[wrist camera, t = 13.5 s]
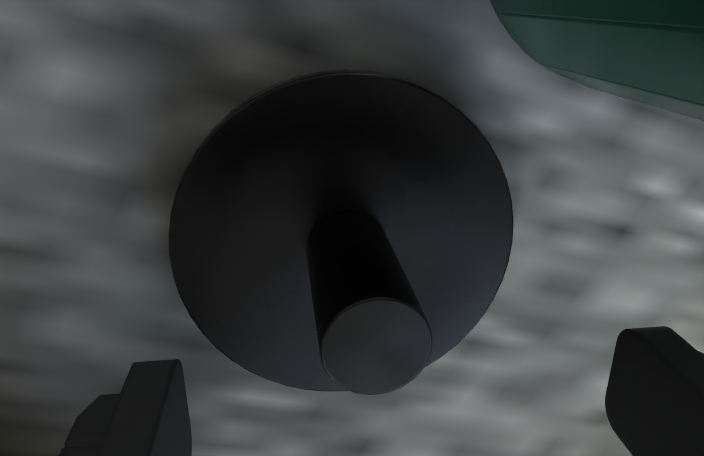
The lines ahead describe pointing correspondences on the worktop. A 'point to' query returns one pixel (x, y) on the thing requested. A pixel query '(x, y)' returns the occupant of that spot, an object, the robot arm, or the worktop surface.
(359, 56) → the worktop surface
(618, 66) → the tin
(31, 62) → the worktop surface
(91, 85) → the worktop surface
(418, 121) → the lid
